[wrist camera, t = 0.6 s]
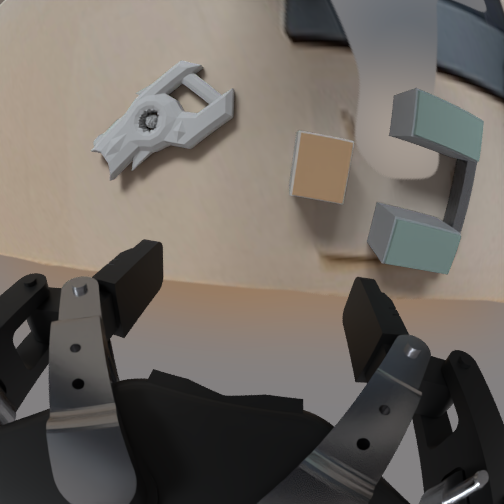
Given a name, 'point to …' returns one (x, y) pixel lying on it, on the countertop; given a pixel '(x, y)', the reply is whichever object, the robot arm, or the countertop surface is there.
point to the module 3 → (412, 239)
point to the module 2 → (436, 125)
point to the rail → (460, 194)
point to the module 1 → (320, 167)
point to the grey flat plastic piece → (163, 119)
